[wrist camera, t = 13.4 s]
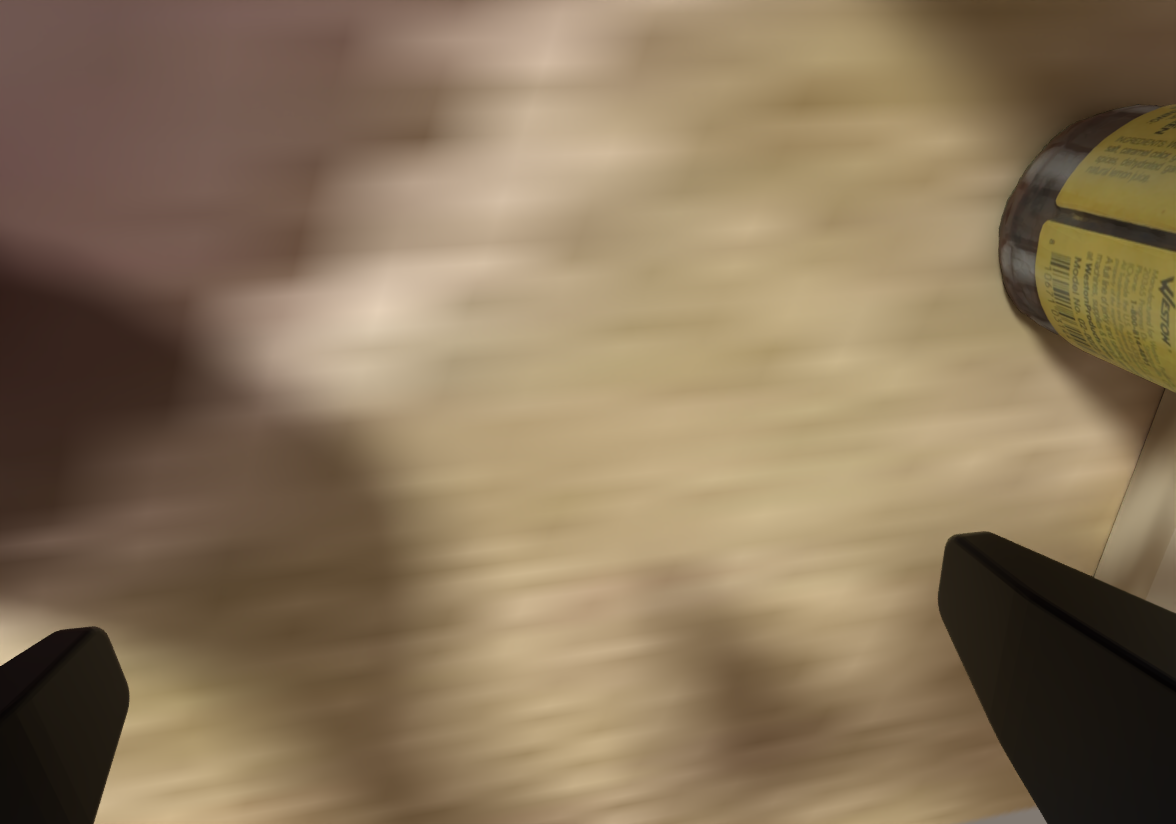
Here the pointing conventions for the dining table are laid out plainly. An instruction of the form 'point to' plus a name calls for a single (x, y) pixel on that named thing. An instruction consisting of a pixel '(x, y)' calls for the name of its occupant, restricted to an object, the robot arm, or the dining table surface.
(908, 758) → the dining table surface
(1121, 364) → the sauce bottle
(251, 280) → the dining table surface
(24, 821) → the robot arm
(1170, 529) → the shelf plank
